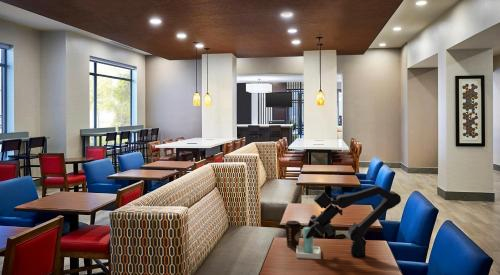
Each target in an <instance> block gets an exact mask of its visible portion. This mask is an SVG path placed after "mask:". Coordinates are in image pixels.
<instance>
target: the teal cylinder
mask: <svg viewBox="0 0 500 275" xmlns="http://www.w3.org/2000/svg"><path fill="white" fill-rule="evenodd" d="M310 228H311V227H307V226H304V227H303V228H302V230H303V231H302V233H303V234H302V236H303V246H304V253H313V246H314V236H312V237H310V238H308V239H306V236H307V234H308V232H309V230H310Z"/></svg>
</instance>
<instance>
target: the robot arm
mask: <svg viewBox="0 0 500 275" xmlns="http://www.w3.org/2000/svg"><path fill="white" fill-rule="evenodd" d="M375 196H380V197H382V199H381V202H380V204H378V205H377V206H376V207H375V208H374V209H373V210H372V211H371V212H370V213H369V214H368V215H367V216H366V217H365V218H364V219H362V220H361V222H359V223H356V222H353V224H352V225H351V226H349V227H348V230H347V235H348V237H349V239H350V240H351V241H352V242H351V245H350V255H352V257H353V258H367V256H366V245H367V240H366V239H365V237H364V236H365V234H366V233H367V231H368V229H369V228H370V227H371V226H372V225H373V224H375V223H376V221H378V220H379V219H380V218H381V217H382V216H383V215H384V214H385V213H386V212H387V211H389V210H391V209H393V208H396V206H398V205H399V204H400V203H401V202H402V197H401V195H400V194H398V193H397V192H396V191H393V190H391V191H390V190H387V189H385V188H383V187H382V186H380V185H375V186H372V187H369V188H366V189H363V190H360V191H356V192H353V193H344V194H338V195H337V196H334V197H330V196H328V195H327V193H326V192H325V191H321V192H320V193H319V194H317V195H316V196H315V197H314V198H313V201H314V202H315V203H316V204H317V205H318V206H319V207H320V208H321V209H323V211H320V214H318V216H317V215H316V214H312V215H311V216H310V219H309V221H308V224H307V226H306V227H311V228H310V230H309V232H308V234H307V236H306V239H308V238H310V237H312V236H313V237H314V236H317V235H321V236H324V235H325V234H326V235H327V236H328V237H330V236H332V235H334V234H335V233H334V230H333V229H334V226H333V224H332V220H333V219H334V218H335V217H336V216H337V215H338V214H339V215H340V216H343V212H344V211H343V209H347V208H348V207H350V206H352V205H353V204H355V203H356V202H359V201H363V200H365V199H369V198H372V197H375Z"/></svg>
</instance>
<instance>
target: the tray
mask: <svg viewBox="0 0 500 275" xmlns="http://www.w3.org/2000/svg"><path fill="white" fill-rule="evenodd" d="M295 248H296V250H295V251H296V252H295V258H297V259H314V260H316V259H317V260H321V257H322V254H321V247H320V246H314V245H313V253H304V245H299V246H297V247H295Z"/></svg>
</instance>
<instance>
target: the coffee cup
mask: <svg viewBox="0 0 500 275" xmlns="http://www.w3.org/2000/svg"><path fill="white" fill-rule="evenodd" d="M284 227H285V236H286V239H285V240H286V247H288V248H296V247H297V246H300V244H299V243H300V240H301V239H300V238H301V227H302V225H301V223H300V221H298V220H287V221H286V223H285V225H284Z"/></svg>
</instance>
